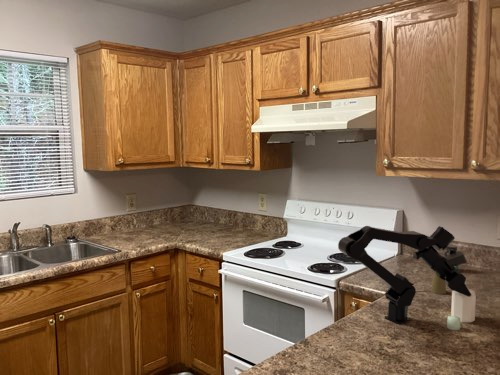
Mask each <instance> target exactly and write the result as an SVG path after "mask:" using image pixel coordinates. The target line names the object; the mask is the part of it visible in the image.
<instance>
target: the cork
mask: <svg viewBox="0 0 500 375" xmlns="http://www.w3.org/2000/svg"><path fill="white" fill-rule="evenodd" d="M432 272H433V277H432V282H431V287H430V292H431V293H433V294H436V295H446V294H447V285H446V284H445V281H444V280H443V279H441V278H440V277H439V276H438V275H437V274H436V273H435V272H434V271H433V270H432Z"/></svg>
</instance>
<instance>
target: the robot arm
mask: <svg viewBox="0 0 500 375" xmlns="http://www.w3.org/2000/svg"><path fill="white" fill-rule="evenodd" d="M373 240H377V241H384V242H389V243H393V244H394V243H395V244H401V245H405V246H407V247H409V248H412V249H414V250H413V251H412V259H413V260H420V259H422V261H423V262H424V263H425V264H426V265H427V266H429V268H430V269H431V270H432V272H433V271H434V272H435V273H436V274H437V275H438V276H439V277H440V278H441V279H443V280H444V281H445V284H446V287H448V288H449V289H450V290H451V291H456V292H459V293H461V294H464V295H466V296H468V297H470V296H471V293H470V291H469V290H468V289H469V288H468V287H467V285H466V280H467V277H466V276H465V275H464V274H463V273H461V271H455V272H454V270H455V269H456V268H455V267H454V266H458V265H459V266H460V265H464V264H467V263H468V261H467V258H466V257H465V254H464V252H462V251H461V250H460V251H459V250H457V252H455V251H454V250H453V249H451V250H449V251H448V255H447V256H446V257H444V254H440V252H439V251H440V250H441V251H446V247H447V246H448V245H451V243H452V242H453V241H454V240H455V236H454V235H453V234H452V233H451V232H450V231H448V230H447V229H445V227H443V226H440V225H439V226H438V227H436V230H434V231H433V232H432V234H430V236H429V235H426V234H423V233H421V232H417V231H414V230H408V231H407V230H405V231H395V230H390V229H385V228H379V227H373V226H370V225H365V226H363V227H361V228H360V229H359V230H357V231H354V232H352V233H350V234H349V235H346V236H344V237H342V238H341V239H340V240H339V241H338V243H337V247H338V248H337V249H338V250H339V251H340V252H341V253H343V255H345V256H347V257H349V258H352V259H353V260H355V261H356V262H357V261H358V262H359V263H360V264H362V265H363V266H364V267H365V268H366V269H368V270H369V271H370V272H372V273H373V274H374V275H375V276H377V277H378V278H379V279H380V280H381V281H383V282H384V283H385V284H386V285H387V287H388V289H387V290H386V292H384V296H385V299H386V300H388V301H389V302H388V311H387V313H388V314H387V315H385V316H384V319H386V320H389V321H391V322H393V323H395V324H403V323H407V322H409V321H411V317H408V309H409V308H408V307H410V306H411V305H412V302H413V299H414V298H415V296H416V289H417V288H415V286H414V283H413V282H411V281H409V279H408V278H407V277H405V276H403V275H401V274H399V273H398V272H396V274H395V275H394V274H393V273H392V272H390V270H388V269H387V268H386V267H384V266H383V265H382V264H381V263H379V262H378V261H377V260H375V259H374V258H373V257H372V256H371V255H369V254H368V251H367V250H366V249H367V247H368V246H369V244H370V243H371V242H372V241H373ZM415 250H417V251H415Z"/></svg>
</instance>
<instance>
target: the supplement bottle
mask: <svg viewBox="0 0 500 375" xmlns="http://www.w3.org/2000/svg"><path fill="white" fill-rule="evenodd" d="M451 249H453V250H454V251H455V252H457V251H458V246H457V245H451V244H449V245H448V246H447V247H446V248H445V250H444V252H443V256H444V257H446V256H447V255H448V251H449V250H451ZM454 267H455V268H456V269H455V270H454V272H455V271H459V268H460V265H458V266H454ZM459 272H460V271H459Z"/></svg>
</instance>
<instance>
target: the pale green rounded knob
mask: <svg viewBox="0 0 500 375" xmlns="http://www.w3.org/2000/svg"><path fill="white" fill-rule="evenodd" d="M446 320H447V321H446V327H447V329H449V330H451V331H459V330H461V323H462V322H461V318H460V317H457V316H451V315H448V316H447V319H446Z"/></svg>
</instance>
